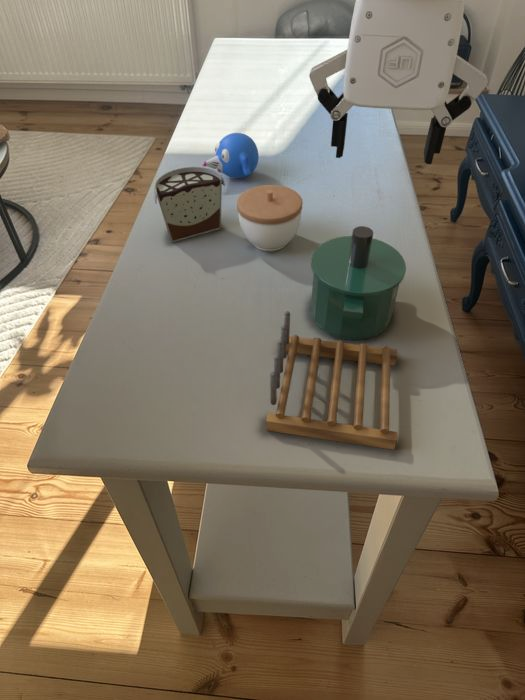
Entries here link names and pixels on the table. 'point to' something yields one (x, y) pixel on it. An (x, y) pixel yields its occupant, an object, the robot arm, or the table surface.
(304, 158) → the table surface
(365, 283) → the lid
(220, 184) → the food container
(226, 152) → the blue mole toy
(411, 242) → the table surface
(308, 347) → the dish rack
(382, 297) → the pot
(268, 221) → the trinket box
